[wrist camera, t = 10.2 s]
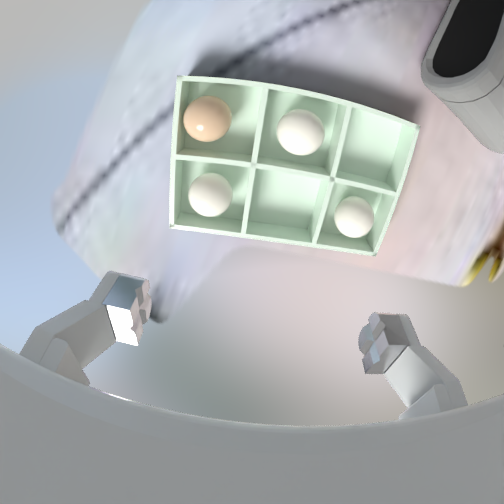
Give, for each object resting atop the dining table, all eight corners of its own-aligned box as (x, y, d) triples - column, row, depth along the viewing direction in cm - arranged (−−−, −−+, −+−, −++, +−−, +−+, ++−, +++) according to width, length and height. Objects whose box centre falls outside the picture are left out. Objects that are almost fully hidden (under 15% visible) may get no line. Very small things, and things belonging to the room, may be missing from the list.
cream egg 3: (371, 194, 29) (386, 211, 25) (359, 228, 31) (371, 248, 27) (335, 186, 28) (347, 203, 25) (325, 222, 31) (334, 242, 27)
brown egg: (244, 98, 22) (215, 97, 19) (237, 143, 25) (209, 149, 21) (206, 94, 24) (175, 94, 21) (202, 135, 26) (171, 140, 23)
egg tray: (404, 120, 24) (420, 126, 21) (366, 240, 33) (375, 256, 30) (187, 76, 23) (177, 75, 20) (177, 213, 31) (169, 228, 28)
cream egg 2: (323, 112, 24) (334, 117, 20) (314, 153, 26) (323, 165, 23) (279, 103, 24) (282, 106, 20) (271, 145, 26) (273, 156, 22)
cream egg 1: (236, 169, 28) (233, 184, 24) (232, 208, 30) (227, 227, 26) (194, 165, 27) (184, 178, 24) (192, 203, 30) (182, 221, 26)
